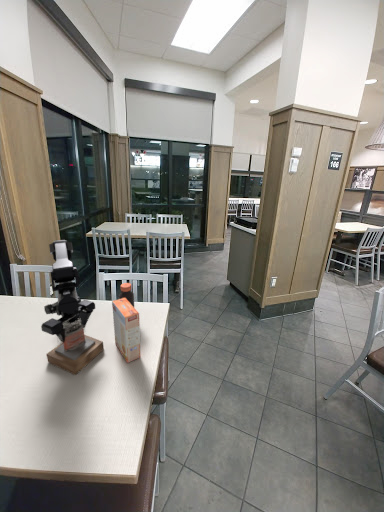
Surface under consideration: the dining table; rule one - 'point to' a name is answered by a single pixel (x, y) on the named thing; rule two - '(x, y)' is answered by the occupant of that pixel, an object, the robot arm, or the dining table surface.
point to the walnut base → (75, 355)
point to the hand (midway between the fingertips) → (73, 334)
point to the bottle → (127, 293)
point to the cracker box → (126, 329)
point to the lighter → (74, 336)
